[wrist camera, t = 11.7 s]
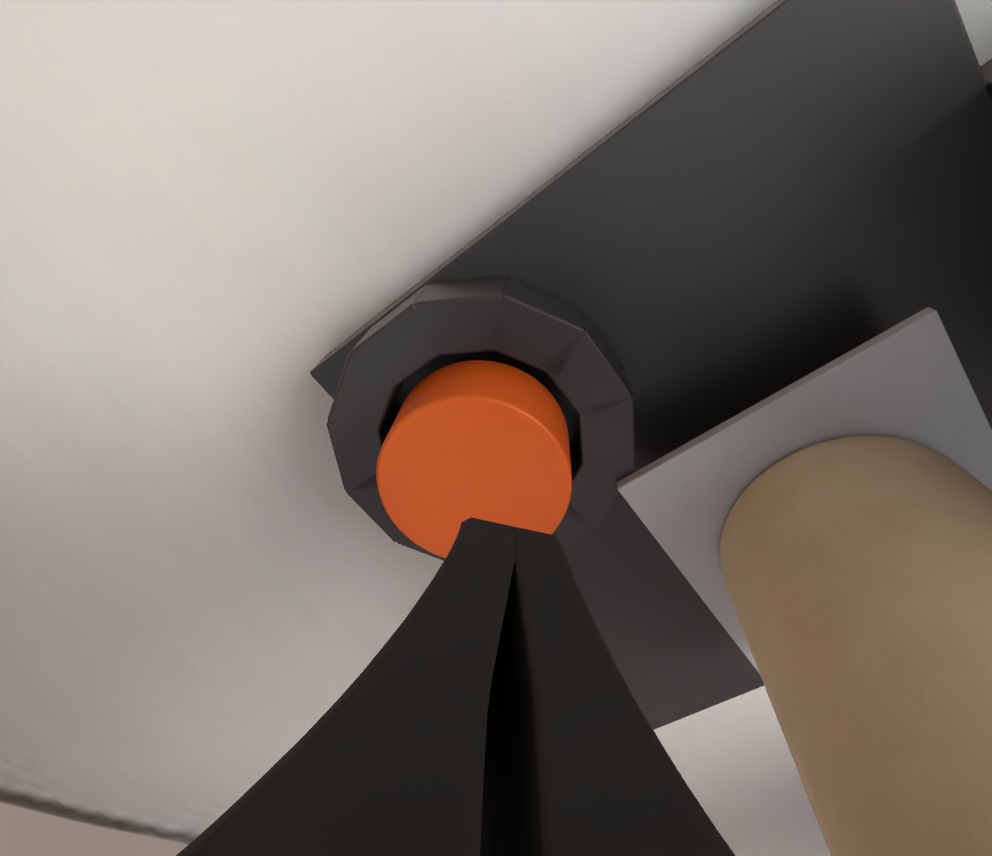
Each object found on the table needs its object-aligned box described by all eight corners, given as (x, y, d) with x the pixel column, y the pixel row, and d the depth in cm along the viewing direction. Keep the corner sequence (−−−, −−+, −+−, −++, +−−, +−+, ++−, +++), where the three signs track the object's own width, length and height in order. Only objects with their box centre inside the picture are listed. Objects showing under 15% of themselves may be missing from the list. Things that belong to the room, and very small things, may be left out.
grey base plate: (1114, 503, 16) (1225, 577, 14) (626, 708, 21) (638, 791, 19) (882, -83, 11) (986, -147, 9) (312, 366, 16) (266, 413, 14)
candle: (684, 484, 13) (964, 1203, 4) (955, 391, 12) (2161, 1171, 3) (752, 652, 15) (1035, 1373, 7) (989, 589, 14) (1762, 1397, 5)
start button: (602, 458, 14) (611, 509, 12) (468, 536, 15) (458, 592, 13) (498, 323, 13) (491, 356, 11) (362, 421, 14) (335, 465, 12)
